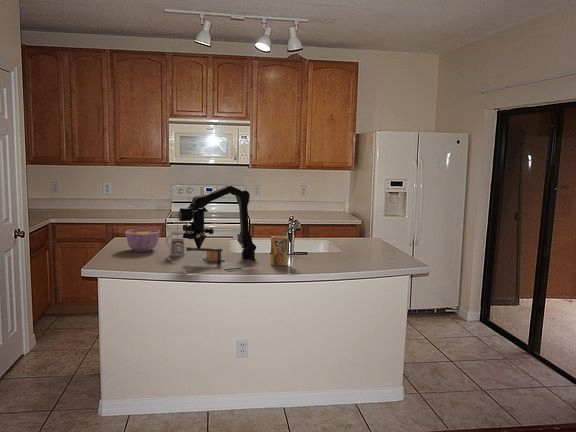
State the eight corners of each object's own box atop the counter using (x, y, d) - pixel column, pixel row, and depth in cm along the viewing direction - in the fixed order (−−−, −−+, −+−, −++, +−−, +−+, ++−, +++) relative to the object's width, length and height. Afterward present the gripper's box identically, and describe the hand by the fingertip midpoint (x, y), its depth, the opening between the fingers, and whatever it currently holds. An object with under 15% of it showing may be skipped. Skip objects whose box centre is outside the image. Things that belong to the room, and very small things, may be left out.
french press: (182, 259, 278) (181, 214, 274) (162, 257, 280) (162, 213, 277) (189, 255, 288) (188, 212, 284) (170, 253, 290) (170, 211, 286)
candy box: (286, 263, 274) (287, 236, 271) (286, 265, 269) (287, 237, 267) (270, 263, 274) (271, 236, 271) (270, 265, 269) (271, 237, 267)
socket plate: (218, 258, 282) (218, 255, 282) (231, 266, 265) (231, 262, 265) (198, 259, 277) (198, 256, 277) (210, 268, 259) (210, 265, 259)
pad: (236, 266, 266) (236, 265, 266) (243, 269, 258) (243, 269, 258) (220, 267, 262) (220, 266, 261) (226, 271, 254) (226, 270, 254)
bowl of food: (119, 249, 297) (119, 230, 296) (150, 245, 311) (150, 227, 309) (134, 255, 283) (133, 235, 281) (166, 251, 296) (166, 232, 294)
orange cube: (216, 258, 277) (216, 248, 276) (220, 261, 271) (220, 250, 270) (206, 259, 274) (206, 249, 273) (210, 262, 268) (210, 251, 268)
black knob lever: (222, 263, 266) (222, 248, 265) (221, 264, 263) (221, 249, 262) (187, 261, 267) (187, 246, 266) (185, 262, 264) (185, 247, 263)
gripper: (198, 216, 275) (198, 243, 278) (174, 221, 259) (175, 250, 262) (214, 218, 270) (214, 246, 272) (191, 223, 253) (191, 253, 256)
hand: (198, 248), depth 266 cm, fingers closed
